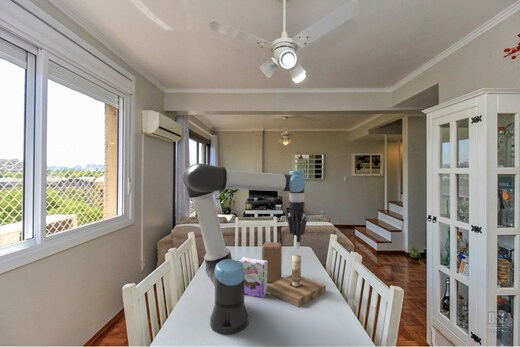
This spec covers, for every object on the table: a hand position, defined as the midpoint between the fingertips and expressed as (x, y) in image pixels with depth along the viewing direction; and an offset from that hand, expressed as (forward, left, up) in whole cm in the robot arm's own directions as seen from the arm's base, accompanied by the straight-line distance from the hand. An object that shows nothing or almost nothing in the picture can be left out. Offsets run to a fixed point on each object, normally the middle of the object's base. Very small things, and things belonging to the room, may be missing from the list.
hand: (296, 248), depth 131 cm
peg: (0, 0, -22) cm, 22 cm away
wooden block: (+2, +19, -22) cm, 29 cm away
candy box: (-17, +14, -22) cm, 31 cm away
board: (0, 0, -22) cm, 22 cm away
